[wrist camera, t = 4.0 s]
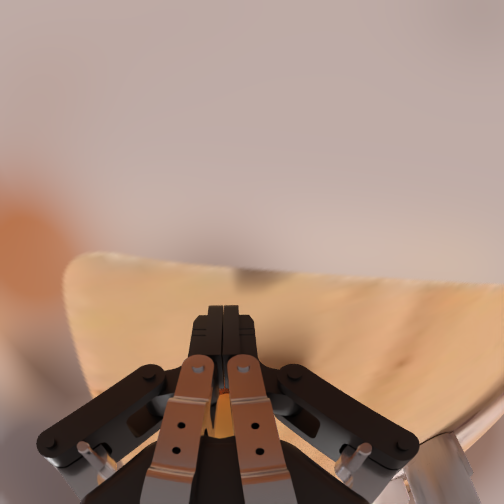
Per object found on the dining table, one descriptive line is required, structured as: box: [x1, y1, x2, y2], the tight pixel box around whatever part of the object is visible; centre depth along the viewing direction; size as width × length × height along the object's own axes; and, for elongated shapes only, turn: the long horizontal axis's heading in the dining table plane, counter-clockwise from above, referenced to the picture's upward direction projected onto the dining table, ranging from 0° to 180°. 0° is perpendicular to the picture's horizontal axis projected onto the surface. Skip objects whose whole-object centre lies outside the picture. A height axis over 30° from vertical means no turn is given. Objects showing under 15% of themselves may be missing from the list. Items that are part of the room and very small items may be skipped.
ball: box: [215, 393, 234, 438], centre depth 18 cm, size 6×6×6 cm
